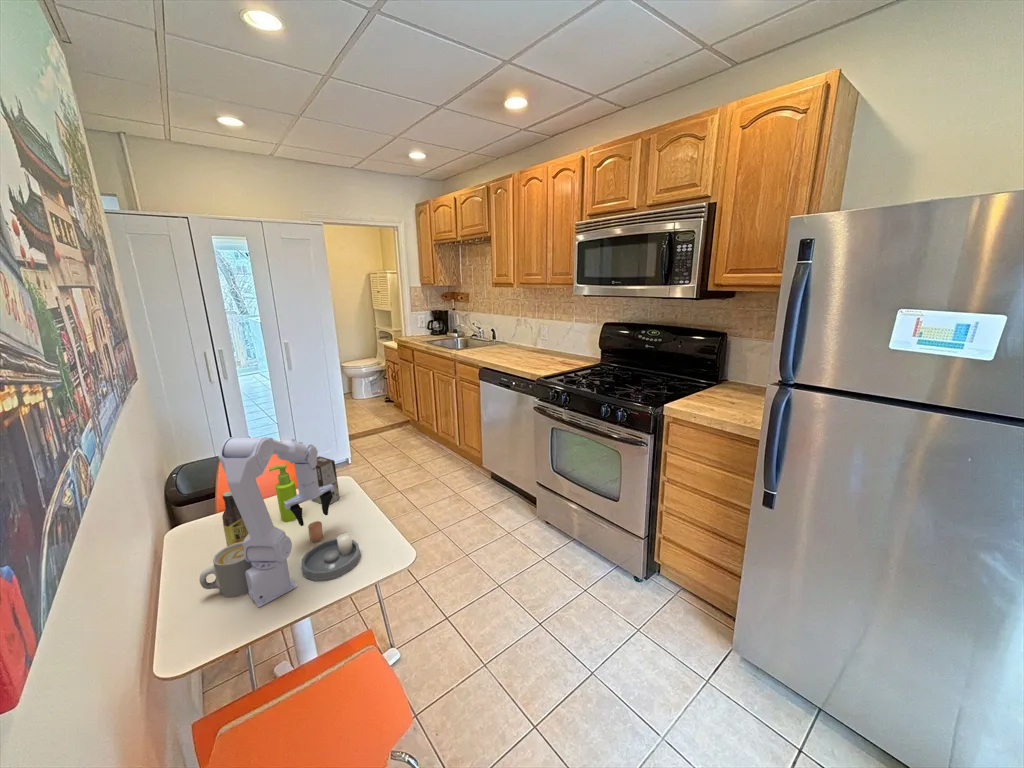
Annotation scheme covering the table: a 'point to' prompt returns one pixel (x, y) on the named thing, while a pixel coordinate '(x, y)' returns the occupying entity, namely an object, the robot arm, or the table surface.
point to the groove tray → (325, 569)
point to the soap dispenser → (284, 492)
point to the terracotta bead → (315, 531)
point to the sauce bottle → (233, 521)
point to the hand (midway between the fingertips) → (313, 519)
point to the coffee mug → (228, 571)
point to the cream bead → (345, 544)
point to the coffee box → (327, 477)
